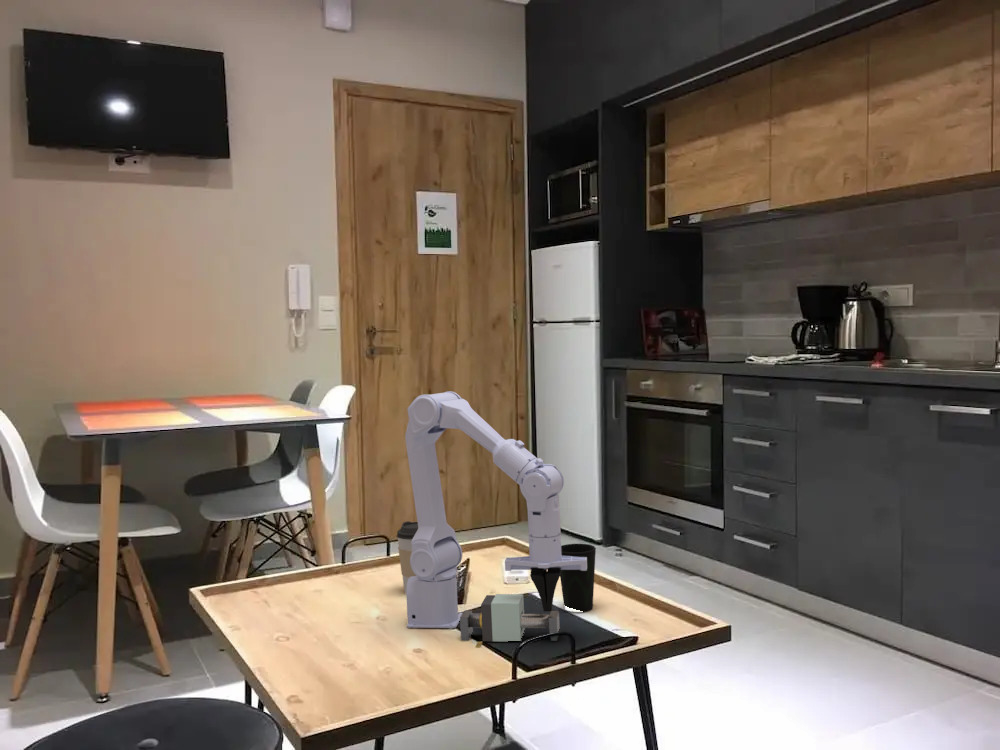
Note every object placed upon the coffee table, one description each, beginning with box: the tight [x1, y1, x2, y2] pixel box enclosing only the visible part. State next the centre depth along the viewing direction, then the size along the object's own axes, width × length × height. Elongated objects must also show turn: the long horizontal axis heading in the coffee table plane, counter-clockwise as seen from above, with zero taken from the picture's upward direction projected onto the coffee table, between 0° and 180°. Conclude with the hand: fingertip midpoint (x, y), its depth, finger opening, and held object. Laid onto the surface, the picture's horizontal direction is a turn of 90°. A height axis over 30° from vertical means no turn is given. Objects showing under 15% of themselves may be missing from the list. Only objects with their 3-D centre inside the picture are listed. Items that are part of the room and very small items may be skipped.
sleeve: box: [491, 593, 526, 642], centre depth 156 cm, size 5×6×7 cm
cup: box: [559, 543, 597, 613], centre depth 170 cm, size 8×8×12 cm
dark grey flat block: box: [480, 594, 496, 642], centre depth 156 cm, size 2×6×7 cm, turn 171°
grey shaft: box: [459, 609, 561, 648], centre depth 154 cm, size 17×7×4 cm, turn 81°
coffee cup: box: [396, 520, 418, 594], centre depth 187 cm, size 9×9×15 cm
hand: (547, 609), depth 154 cm, fingers closed
